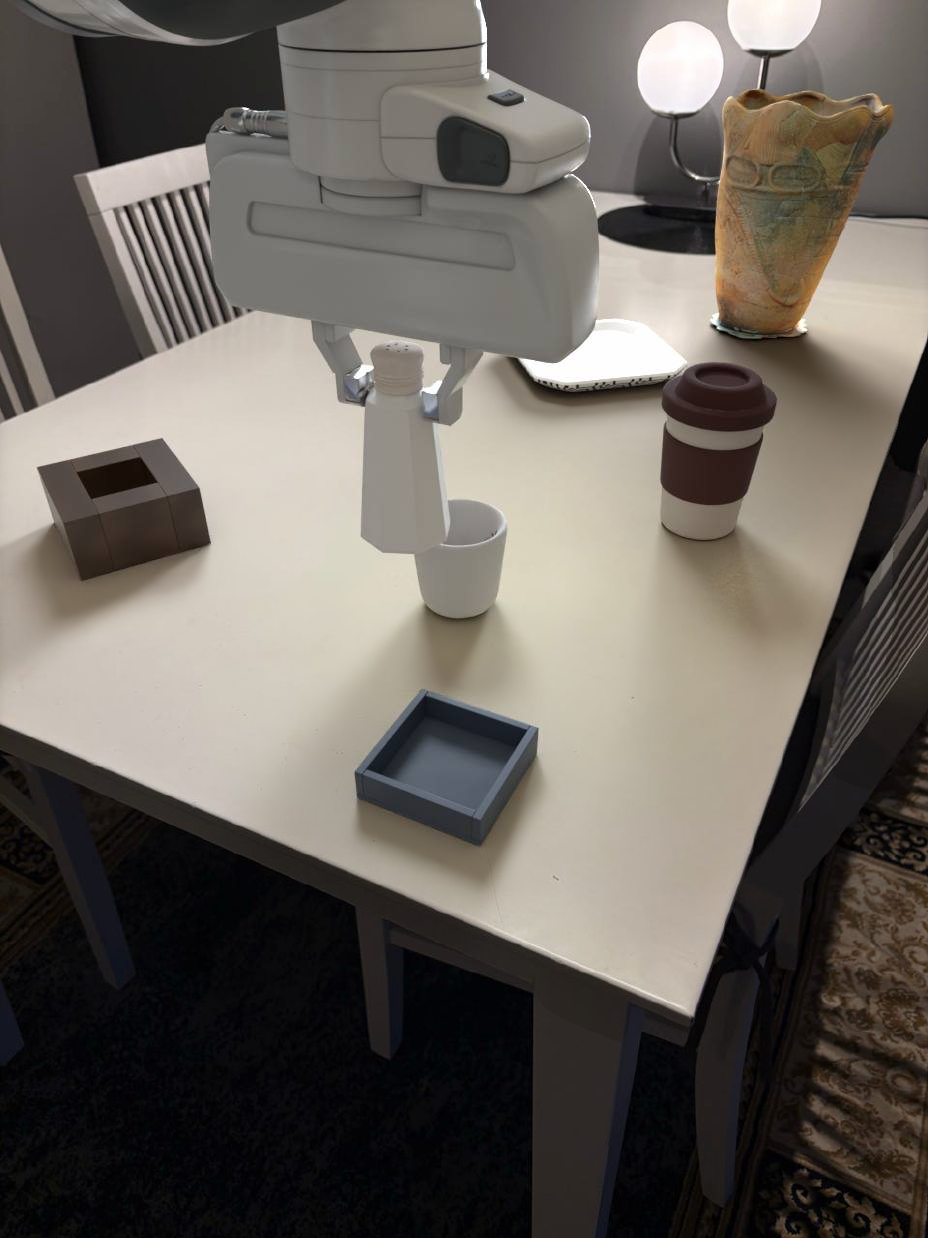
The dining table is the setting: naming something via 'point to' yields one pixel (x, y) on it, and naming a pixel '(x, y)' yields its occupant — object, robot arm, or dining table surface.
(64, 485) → the holder
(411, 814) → the tray
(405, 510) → the pepper shaker
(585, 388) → the plate
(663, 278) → the dining table surface
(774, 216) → the vase
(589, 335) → the robot arm
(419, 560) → the cup
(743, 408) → the coffee cup
